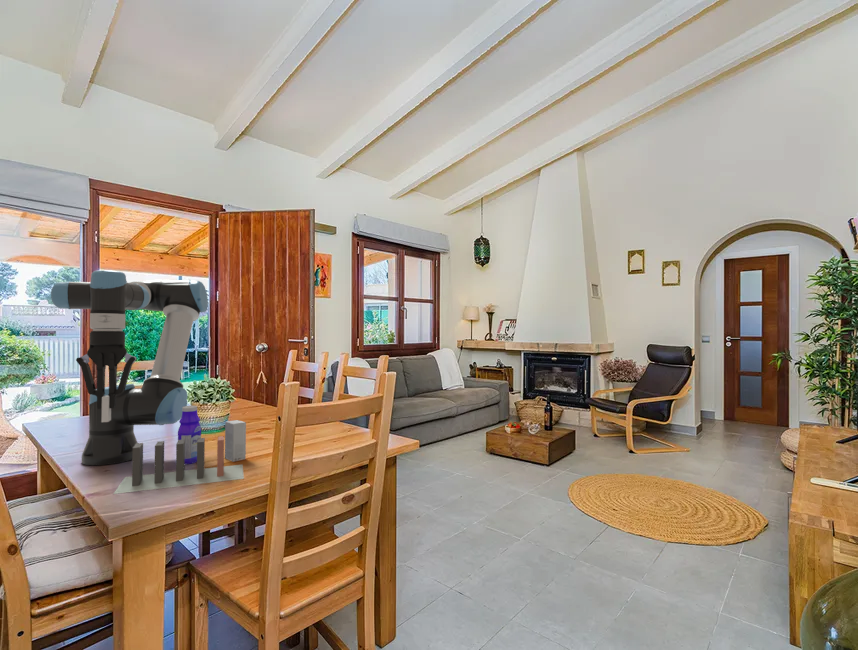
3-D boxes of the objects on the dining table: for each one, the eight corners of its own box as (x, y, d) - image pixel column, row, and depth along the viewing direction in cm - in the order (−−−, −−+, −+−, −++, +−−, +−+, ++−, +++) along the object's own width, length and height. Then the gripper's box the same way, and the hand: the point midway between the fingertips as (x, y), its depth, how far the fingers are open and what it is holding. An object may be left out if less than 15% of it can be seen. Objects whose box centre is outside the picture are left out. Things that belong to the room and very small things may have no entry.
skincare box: (246, 460, 143) (246, 422, 143) (232, 462, 140) (233, 424, 140) (237, 456, 147) (237, 419, 147) (224, 459, 144) (224, 421, 144)
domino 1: (132, 486, 117) (132, 447, 117) (135, 480, 122) (136, 443, 122) (139, 485, 118) (139, 447, 118) (142, 479, 122) (143, 442, 122)
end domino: (217, 476, 125) (217, 440, 125) (217, 471, 130) (217, 436, 130) (223, 475, 126) (223, 440, 126) (223, 470, 131) (224, 436, 131)
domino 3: (175, 481, 121) (176, 444, 121) (177, 475, 126) (178, 439, 126) (182, 480, 122) (183, 443, 122) (184, 475, 126) (184, 439, 127)
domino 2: (154, 483, 119) (154, 445, 119) (157, 478, 124) (157, 441, 124) (161, 483, 120) (161, 445, 120) (163, 477, 124) (164, 441, 125)
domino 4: (196, 479, 123) (197, 442, 123) (197, 473, 128) (198, 438, 128) (203, 478, 124) (203, 441, 124) (204, 472, 128) (204, 437, 129)
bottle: (192, 466, 136) (193, 408, 136) (173, 466, 136) (174, 408, 136) (204, 459, 143) (204, 404, 144) (186, 459, 143) (187, 404, 144)
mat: (113, 495, 112) (113, 493, 112) (125, 478, 125) (125, 477, 125) (243, 479, 124) (243, 478, 124) (242, 465, 137) (242, 464, 137)
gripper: (72, 330, 111) (70, 425, 111) (134, 330, 117) (133, 421, 116) (81, 330, 118) (79, 420, 118) (139, 330, 123) (138, 416, 123)
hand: (106, 421), depth 117 cm, fingers closed
